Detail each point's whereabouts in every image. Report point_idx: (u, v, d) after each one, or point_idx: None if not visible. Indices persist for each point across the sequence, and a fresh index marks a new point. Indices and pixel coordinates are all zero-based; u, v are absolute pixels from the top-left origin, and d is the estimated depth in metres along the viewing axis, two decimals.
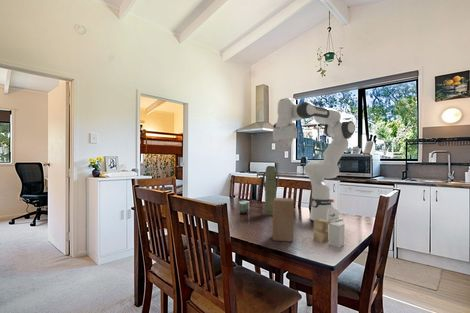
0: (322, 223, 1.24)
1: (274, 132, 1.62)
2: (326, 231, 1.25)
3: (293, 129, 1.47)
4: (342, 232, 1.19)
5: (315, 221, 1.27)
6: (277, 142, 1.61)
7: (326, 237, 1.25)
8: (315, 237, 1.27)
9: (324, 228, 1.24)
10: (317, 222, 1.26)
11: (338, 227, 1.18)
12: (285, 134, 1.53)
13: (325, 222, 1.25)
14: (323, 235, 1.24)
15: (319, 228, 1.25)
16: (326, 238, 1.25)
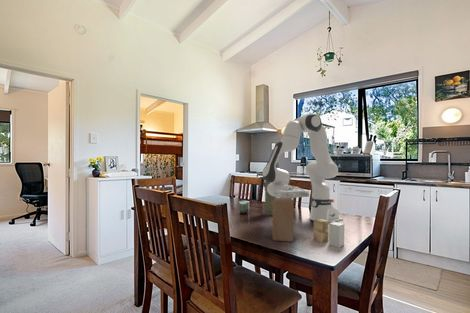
0: (322, 223, 1.24)
1: None
2: (326, 231, 1.25)
3: (277, 195, 1.44)
4: (342, 232, 1.19)
5: (315, 221, 1.27)
6: (306, 196, 1.45)
7: (326, 237, 1.25)
8: (315, 237, 1.27)
9: (324, 228, 1.24)
10: (317, 222, 1.26)
11: (338, 227, 1.18)
12: None
13: (325, 222, 1.25)
14: (323, 235, 1.24)
15: (319, 228, 1.25)
16: (326, 238, 1.25)
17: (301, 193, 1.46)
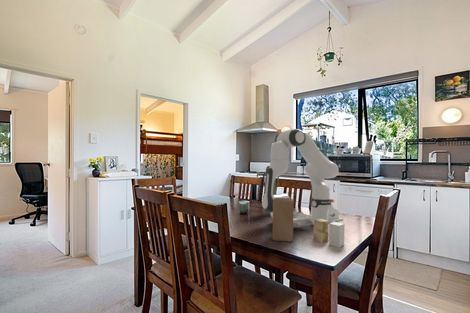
0: (322, 223, 1.24)
1: None
2: (326, 231, 1.25)
3: None
4: (342, 232, 1.19)
5: (315, 221, 1.27)
6: None
7: (326, 237, 1.25)
8: (315, 237, 1.27)
9: (324, 228, 1.24)
10: (317, 222, 1.26)
11: (338, 227, 1.18)
12: None
13: (325, 222, 1.25)
14: (323, 235, 1.24)
15: (319, 228, 1.25)
16: (326, 238, 1.25)
17: (306, 220, 1.42)
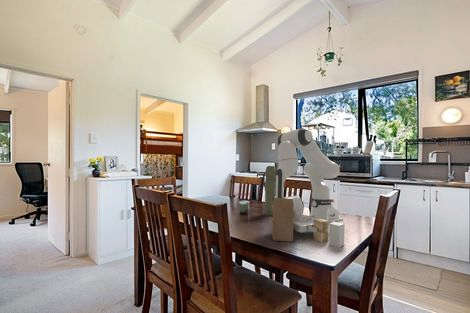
0: (322, 223, 1.24)
1: None
2: (326, 231, 1.25)
3: (294, 228, 1.31)
4: (342, 232, 1.19)
5: (315, 221, 1.27)
6: None
7: (326, 237, 1.25)
8: (315, 237, 1.27)
9: (324, 228, 1.24)
10: (317, 222, 1.26)
11: (338, 227, 1.18)
12: None
13: (325, 222, 1.25)
14: (323, 235, 1.24)
15: (319, 228, 1.25)
16: (326, 238, 1.25)
17: None
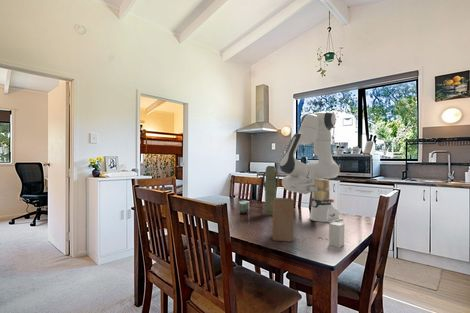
0: (323, 181, 1.24)
1: None
2: (326, 190, 1.25)
3: (294, 189, 1.31)
4: (342, 232, 1.19)
5: (315, 180, 1.27)
6: None
7: (327, 196, 1.25)
8: (316, 196, 1.27)
9: (324, 186, 1.25)
10: (318, 181, 1.26)
11: (338, 227, 1.18)
12: None
13: (325, 181, 1.25)
14: (323, 193, 1.24)
15: (320, 187, 1.25)
16: (327, 197, 1.25)
17: None
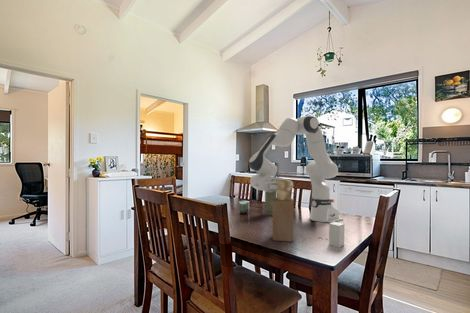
0: (284, 181, 1.26)
1: None
2: (287, 190, 1.27)
3: (258, 187, 1.32)
4: (342, 232, 1.19)
5: (278, 180, 1.29)
6: None
7: (288, 196, 1.27)
8: (278, 196, 1.29)
9: (285, 186, 1.26)
10: (279, 181, 1.27)
11: (338, 227, 1.18)
12: None
13: (287, 181, 1.27)
14: (284, 193, 1.26)
15: (281, 186, 1.26)
16: (288, 197, 1.27)
17: None
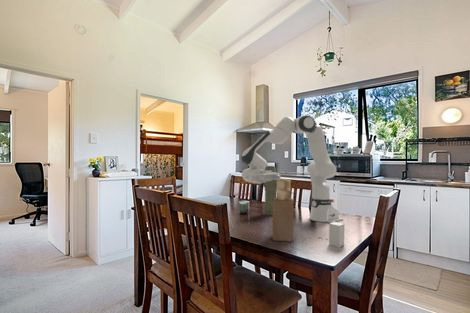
0: (284, 181, 1.26)
1: None
2: (287, 190, 1.27)
3: (248, 179, 1.46)
4: (342, 232, 1.19)
5: (278, 180, 1.29)
6: (277, 178, 1.47)
7: (288, 196, 1.27)
8: (278, 196, 1.29)
9: (285, 186, 1.26)
10: (280, 181, 1.27)
11: (338, 227, 1.18)
12: None
13: (287, 181, 1.27)
14: (284, 193, 1.26)
15: (281, 186, 1.26)
16: (288, 197, 1.27)
17: (272, 176, 1.48)
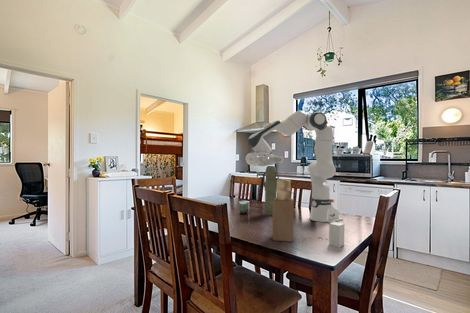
0: (284, 181, 1.26)
1: (276, 162, 1.58)
2: (287, 190, 1.27)
3: (251, 161, 1.50)
4: (342, 232, 1.19)
5: (278, 180, 1.29)
6: (279, 161, 1.51)
7: (288, 196, 1.27)
8: (278, 196, 1.29)
9: (285, 186, 1.26)
10: (280, 181, 1.27)
11: (338, 227, 1.18)
12: None
13: (287, 181, 1.27)
14: (284, 193, 1.26)
15: (281, 186, 1.26)
16: (288, 197, 1.27)
17: (275, 159, 1.52)
